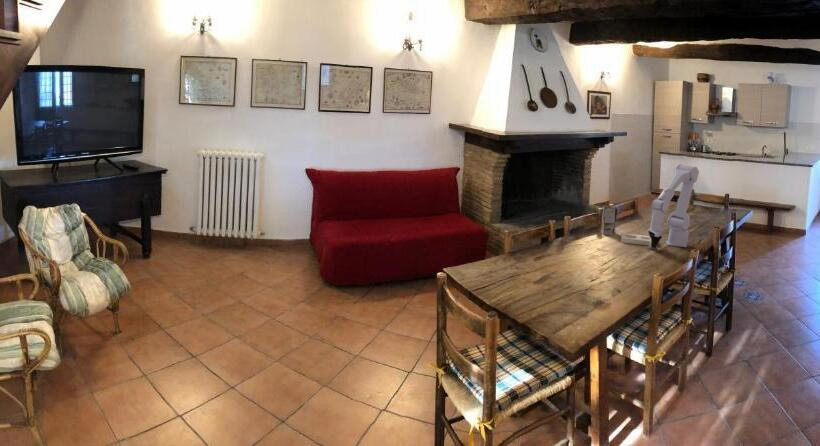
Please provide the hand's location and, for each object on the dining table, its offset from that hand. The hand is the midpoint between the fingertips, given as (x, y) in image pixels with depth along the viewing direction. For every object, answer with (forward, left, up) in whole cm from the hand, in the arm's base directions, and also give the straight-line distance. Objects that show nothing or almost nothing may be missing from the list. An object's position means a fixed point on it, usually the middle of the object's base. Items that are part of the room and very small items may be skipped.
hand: (653, 246), depth 271 cm
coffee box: (+22, -23, -2) cm, 32 cm away
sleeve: (0, 0, -2) cm, 2 cm away
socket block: (+6, -12, -2) cm, 14 cm away
